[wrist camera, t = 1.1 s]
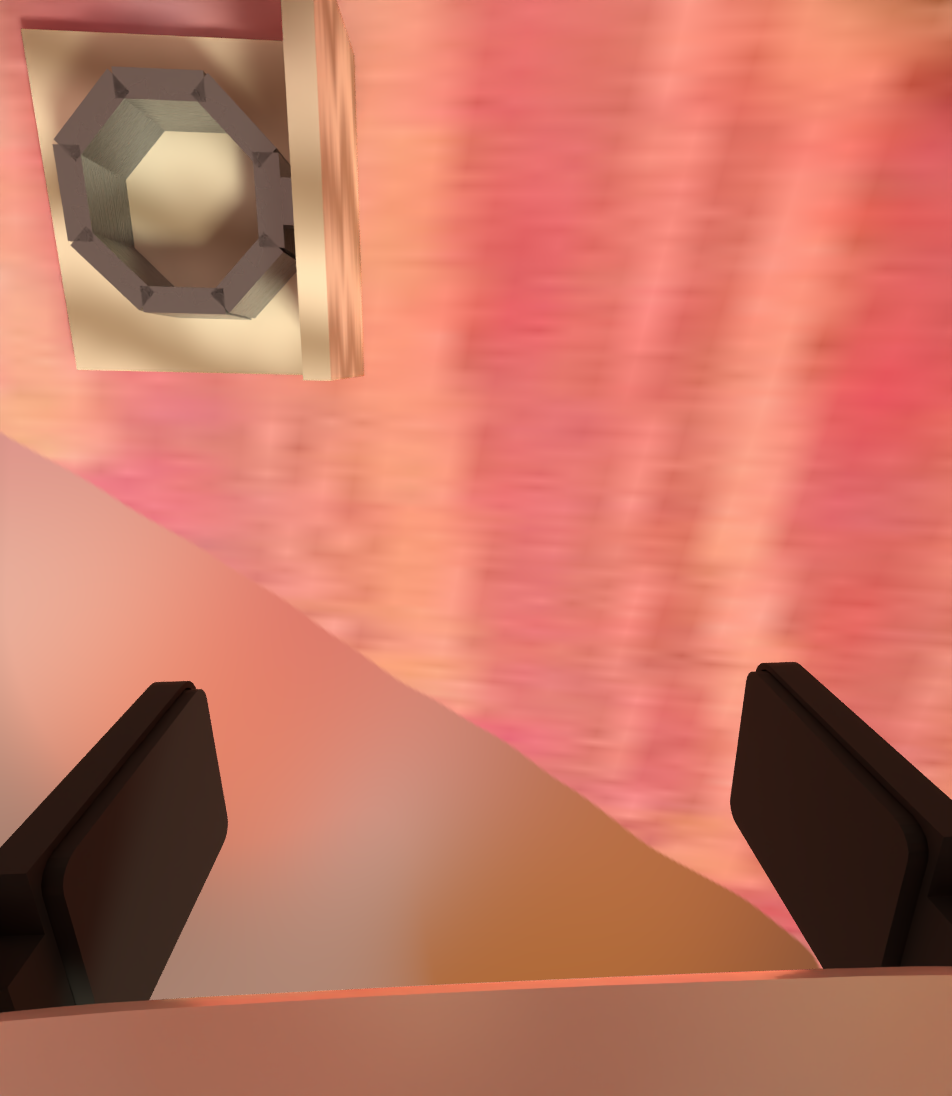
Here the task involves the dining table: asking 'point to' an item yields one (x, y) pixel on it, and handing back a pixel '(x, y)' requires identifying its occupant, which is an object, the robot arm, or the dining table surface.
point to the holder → (205, 196)
